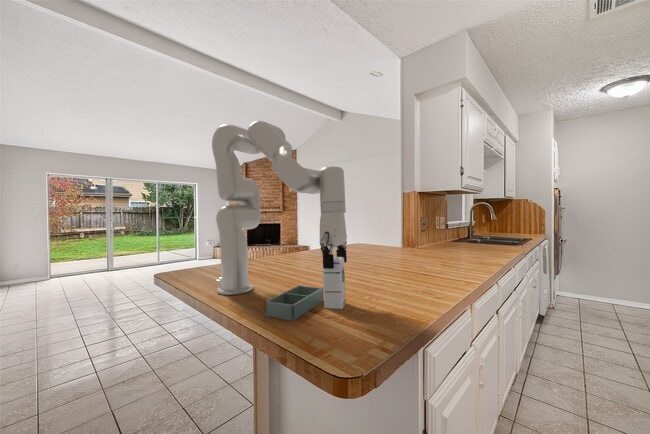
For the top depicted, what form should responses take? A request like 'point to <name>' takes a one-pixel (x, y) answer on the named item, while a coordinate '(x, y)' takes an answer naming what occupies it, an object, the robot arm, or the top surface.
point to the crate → (293, 302)
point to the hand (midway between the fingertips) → (335, 265)
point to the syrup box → (334, 285)
